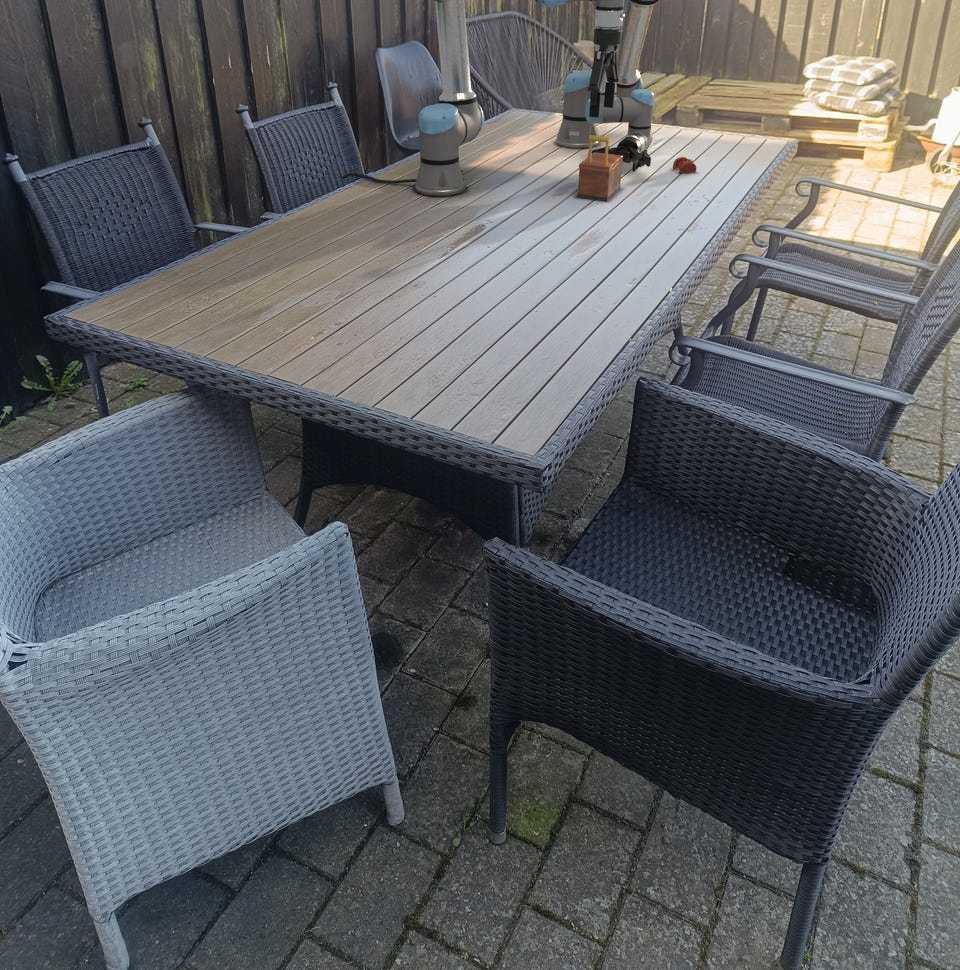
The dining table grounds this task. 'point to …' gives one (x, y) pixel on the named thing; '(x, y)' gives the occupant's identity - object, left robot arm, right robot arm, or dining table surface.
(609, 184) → the chest
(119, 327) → the dining table surface
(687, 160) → the dental model
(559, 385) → the dining table surface
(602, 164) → the lid
